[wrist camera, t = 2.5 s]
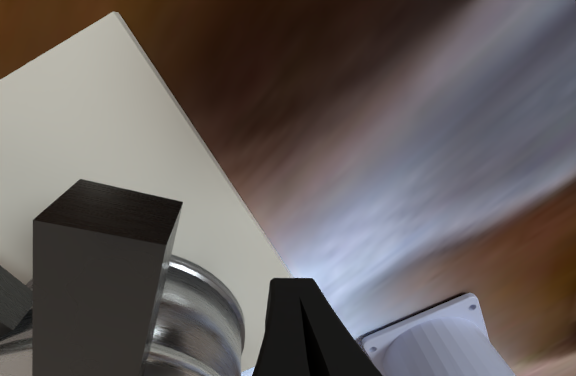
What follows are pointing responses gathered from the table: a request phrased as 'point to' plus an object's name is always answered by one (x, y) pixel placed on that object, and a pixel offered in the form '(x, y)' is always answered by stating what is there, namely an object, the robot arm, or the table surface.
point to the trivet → (124, 161)
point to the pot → (160, 316)
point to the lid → (100, 287)
